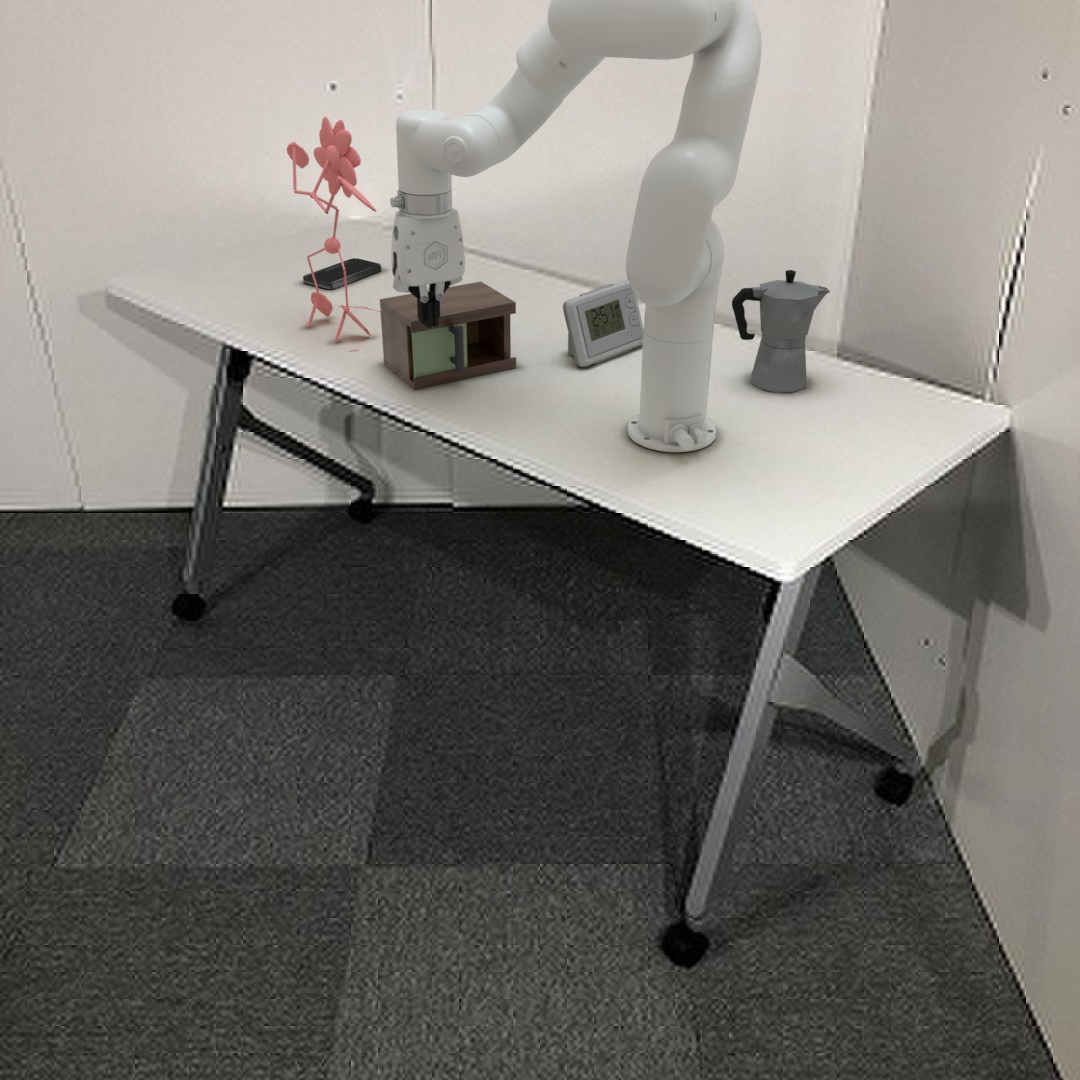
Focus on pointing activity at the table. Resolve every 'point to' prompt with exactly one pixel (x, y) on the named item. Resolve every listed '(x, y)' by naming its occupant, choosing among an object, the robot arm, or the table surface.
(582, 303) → the digital clock
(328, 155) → the figurine
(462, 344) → the sliding door
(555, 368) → the table surface
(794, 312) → the coffeepot
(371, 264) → the phone
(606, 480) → the table surface
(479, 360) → the cabinet
